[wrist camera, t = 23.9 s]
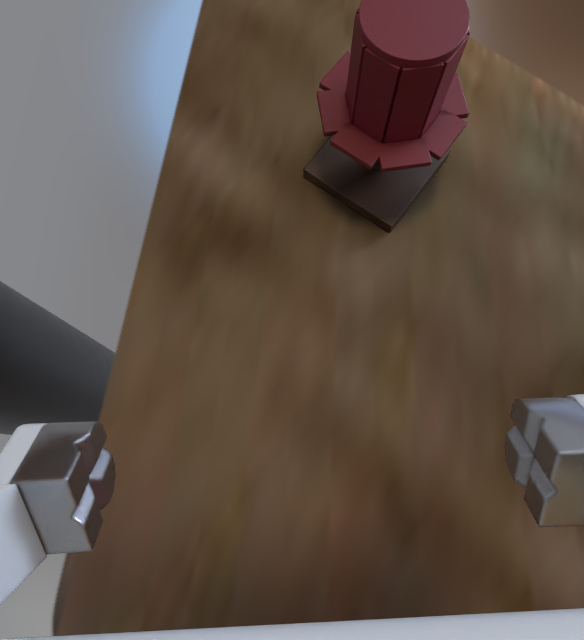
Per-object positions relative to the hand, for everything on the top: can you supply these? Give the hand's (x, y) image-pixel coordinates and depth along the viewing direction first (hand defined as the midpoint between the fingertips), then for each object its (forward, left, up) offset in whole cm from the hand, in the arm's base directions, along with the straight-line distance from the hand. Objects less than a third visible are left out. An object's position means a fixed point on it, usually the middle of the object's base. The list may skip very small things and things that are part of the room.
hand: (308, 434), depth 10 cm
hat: (-10, +24, -22) cm, 33 cm away
